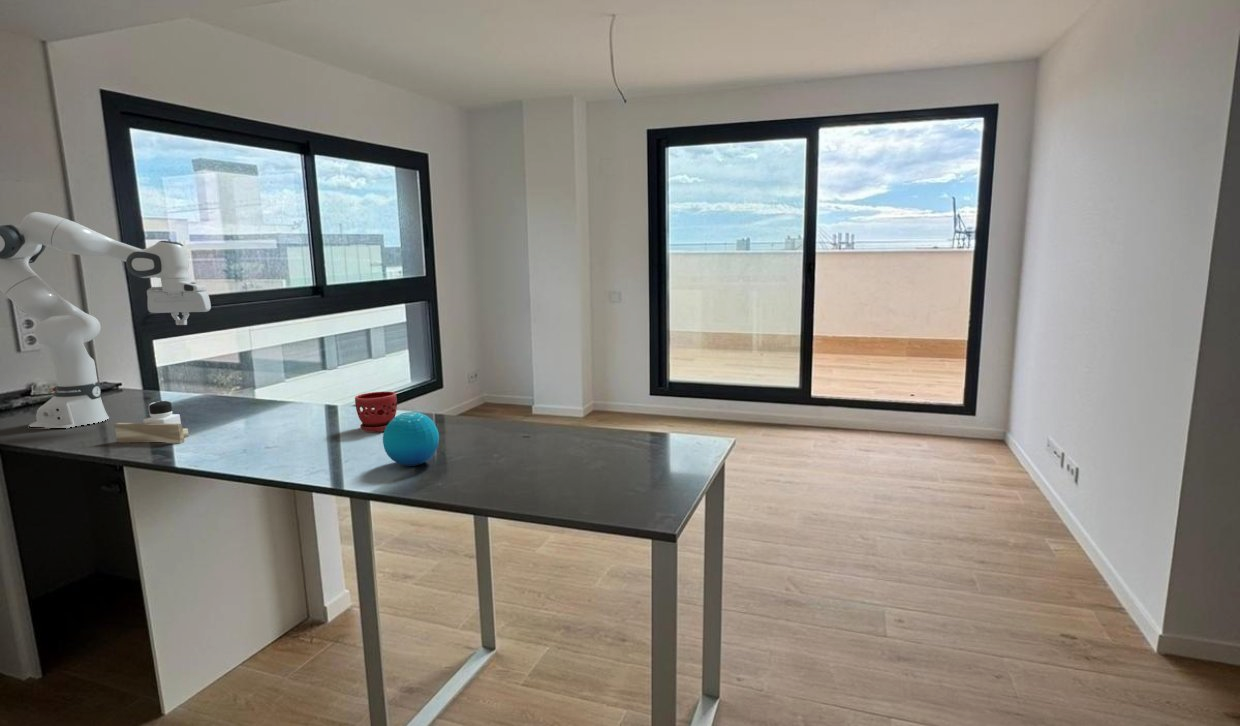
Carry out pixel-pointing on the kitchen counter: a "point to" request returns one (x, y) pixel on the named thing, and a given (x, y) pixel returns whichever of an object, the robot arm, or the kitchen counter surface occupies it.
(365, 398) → the plant pot
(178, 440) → the wooden bay
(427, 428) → the decorative orb
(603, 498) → the kitchen counter surface
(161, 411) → the medicine bottle
